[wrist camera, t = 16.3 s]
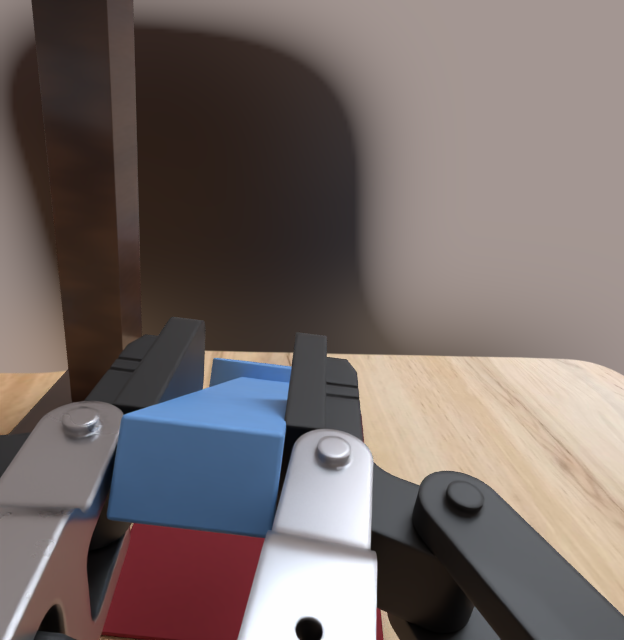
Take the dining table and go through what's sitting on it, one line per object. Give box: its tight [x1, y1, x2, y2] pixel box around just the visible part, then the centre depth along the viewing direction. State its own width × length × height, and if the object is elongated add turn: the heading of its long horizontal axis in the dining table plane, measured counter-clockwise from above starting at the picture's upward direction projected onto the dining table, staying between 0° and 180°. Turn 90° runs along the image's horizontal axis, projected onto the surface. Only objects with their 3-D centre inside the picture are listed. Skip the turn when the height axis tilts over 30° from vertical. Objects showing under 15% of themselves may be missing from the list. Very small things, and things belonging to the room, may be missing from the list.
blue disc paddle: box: [107, 358, 292, 538], centre depth 16 cm, size 5×20×2 cm, turn 178°
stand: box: [9, 0, 142, 435], centre depth 32 cm, size 10×13×32 cm
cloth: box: [101, 416, 383, 640], centre depth 35 cm, size 15×21×1 cm
